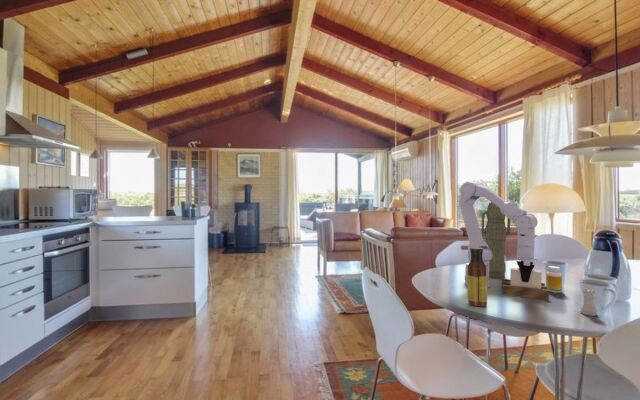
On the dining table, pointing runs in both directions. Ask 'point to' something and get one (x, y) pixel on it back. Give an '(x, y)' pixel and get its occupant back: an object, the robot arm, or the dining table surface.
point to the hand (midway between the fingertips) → (524, 280)
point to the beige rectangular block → (533, 282)
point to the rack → (525, 291)
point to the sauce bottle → (477, 279)
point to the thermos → (496, 239)
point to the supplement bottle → (554, 279)
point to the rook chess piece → (588, 303)
